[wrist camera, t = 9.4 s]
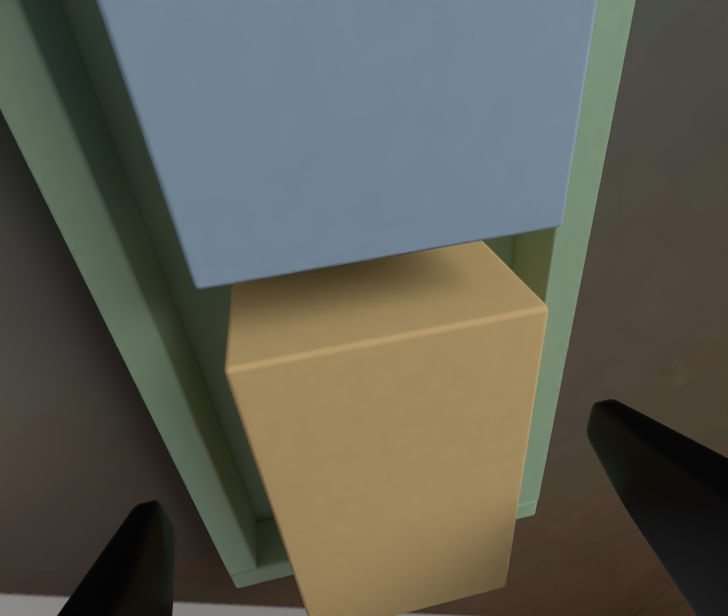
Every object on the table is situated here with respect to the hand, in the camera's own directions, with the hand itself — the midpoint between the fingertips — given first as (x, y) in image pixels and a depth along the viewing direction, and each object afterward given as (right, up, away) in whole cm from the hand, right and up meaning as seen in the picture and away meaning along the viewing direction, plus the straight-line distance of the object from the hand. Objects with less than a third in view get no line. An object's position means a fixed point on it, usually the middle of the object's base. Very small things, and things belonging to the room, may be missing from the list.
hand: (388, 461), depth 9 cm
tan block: (-1, +2, +2) cm, 3 cm away
